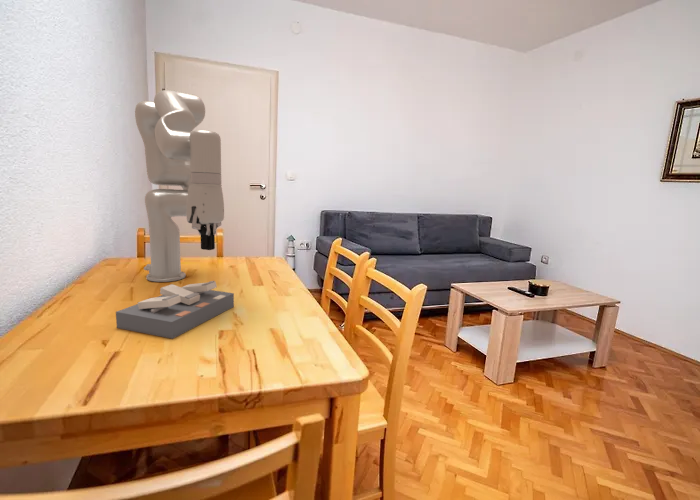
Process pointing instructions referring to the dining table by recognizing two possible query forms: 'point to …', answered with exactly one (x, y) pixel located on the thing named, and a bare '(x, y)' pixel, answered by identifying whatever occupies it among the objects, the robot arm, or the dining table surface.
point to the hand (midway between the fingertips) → (207, 249)
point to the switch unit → (174, 315)
